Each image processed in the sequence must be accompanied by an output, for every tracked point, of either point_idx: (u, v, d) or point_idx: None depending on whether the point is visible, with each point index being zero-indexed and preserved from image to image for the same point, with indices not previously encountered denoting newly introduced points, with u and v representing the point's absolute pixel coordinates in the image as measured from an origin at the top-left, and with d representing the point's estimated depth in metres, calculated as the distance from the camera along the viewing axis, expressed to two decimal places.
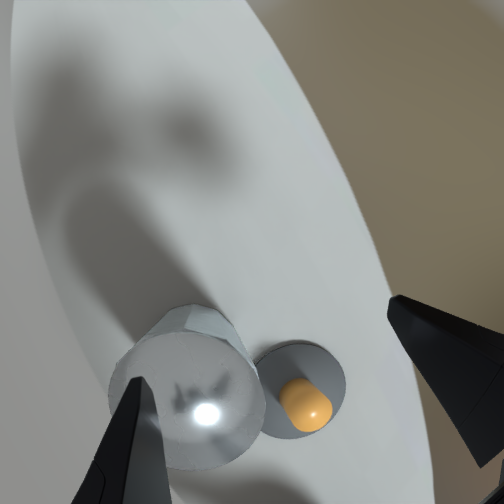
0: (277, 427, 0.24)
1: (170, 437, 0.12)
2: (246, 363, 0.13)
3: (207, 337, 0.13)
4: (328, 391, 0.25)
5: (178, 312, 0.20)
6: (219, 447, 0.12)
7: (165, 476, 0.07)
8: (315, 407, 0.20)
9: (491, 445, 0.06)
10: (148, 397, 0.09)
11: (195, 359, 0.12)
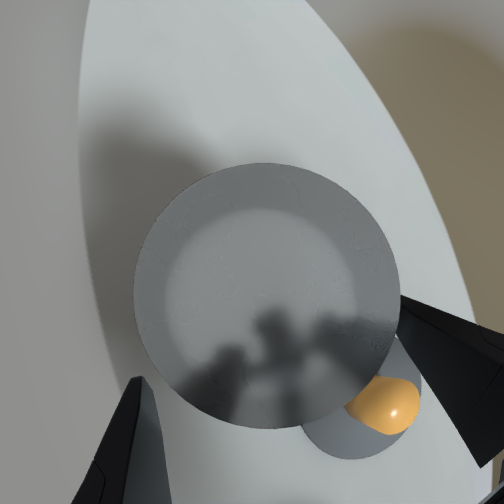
0: (336, 441, 0.17)
1: (234, 345, 0.07)
2: (375, 223, 0.08)
3: (322, 178, 0.09)
4: None
5: None
6: (322, 376, 0.07)
7: (165, 476, 0.07)
8: (401, 398, 0.14)
9: (491, 444, 0.06)
10: (148, 397, 0.09)
11: (304, 203, 0.08)
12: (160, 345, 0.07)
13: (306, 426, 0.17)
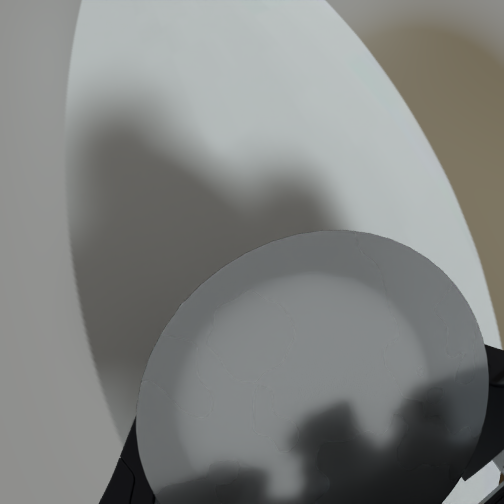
0: None
1: None
2: (472, 314, 0.05)
3: (411, 252, 0.06)
4: None
5: None
6: None
7: None
8: None
9: (475, 458, 0.06)
10: None
11: (391, 297, 0.05)
12: None
13: None
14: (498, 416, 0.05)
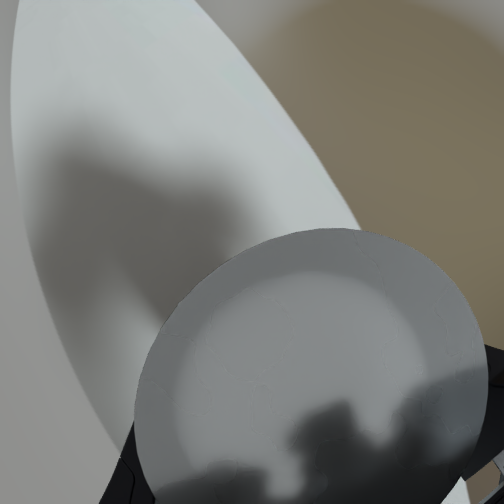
0: None
1: (289, 503, 0.04)
2: (471, 313, 0.05)
3: (410, 250, 0.06)
4: None
5: None
6: None
7: None
8: None
9: (475, 459, 0.06)
10: None
11: (389, 295, 0.05)
12: None
13: None
14: (498, 416, 0.05)
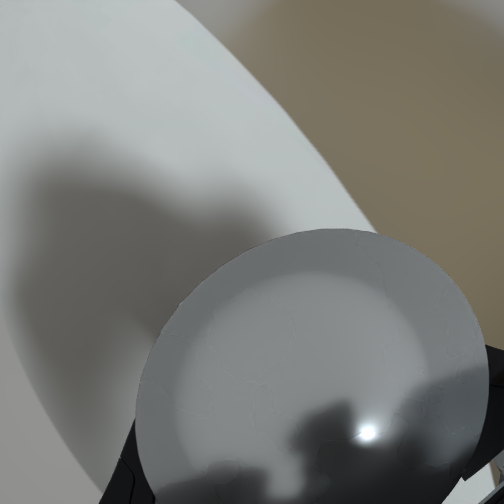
0: None
1: (290, 503, 0.04)
2: (472, 313, 0.05)
3: (411, 251, 0.05)
4: None
5: None
6: None
7: None
8: None
9: (475, 459, 0.06)
10: None
11: (391, 295, 0.05)
12: None
13: None
14: (498, 416, 0.05)
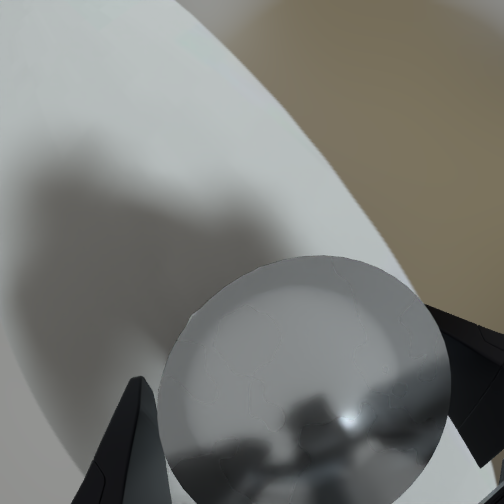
0: None
1: (280, 475, 0.05)
2: (434, 323, 0.07)
3: (380, 271, 0.07)
4: None
5: None
6: (366, 490, 0.05)
7: (165, 476, 0.07)
8: None
9: (491, 445, 0.06)
10: (148, 397, 0.09)
11: (360, 309, 0.07)
12: (196, 479, 0.05)
13: None
14: None
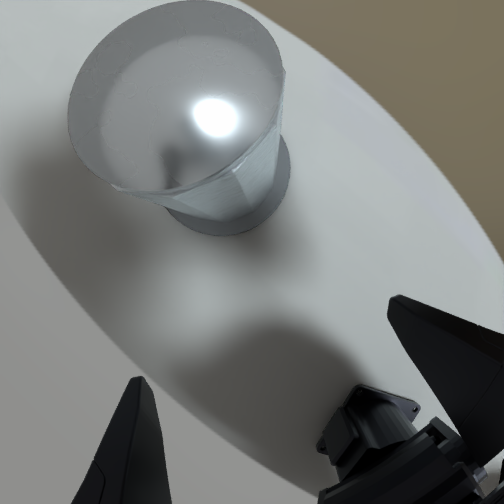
0: None
1: (139, 127, 0.08)
2: (245, 13, 0.08)
3: (196, 2, 0.08)
4: None
5: None
6: (214, 130, 0.08)
7: (165, 476, 0.07)
8: None
9: (491, 444, 0.06)
10: (148, 397, 0.09)
11: (180, 20, 0.08)
12: (88, 149, 0.08)
13: (178, 217, 0.20)
14: None
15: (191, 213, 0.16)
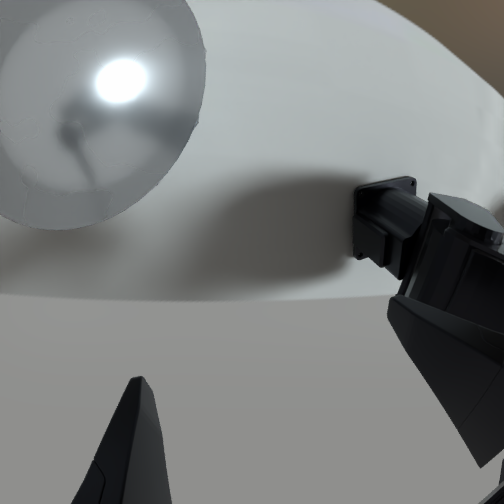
0: None
1: (74, 154, 0.06)
2: None
3: None
4: None
5: None
6: (156, 101, 0.06)
7: (165, 476, 0.07)
8: None
9: (491, 445, 0.06)
10: (148, 397, 0.09)
11: (18, 18, 0.04)
12: (42, 215, 0.06)
13: None
14: None
15: None
